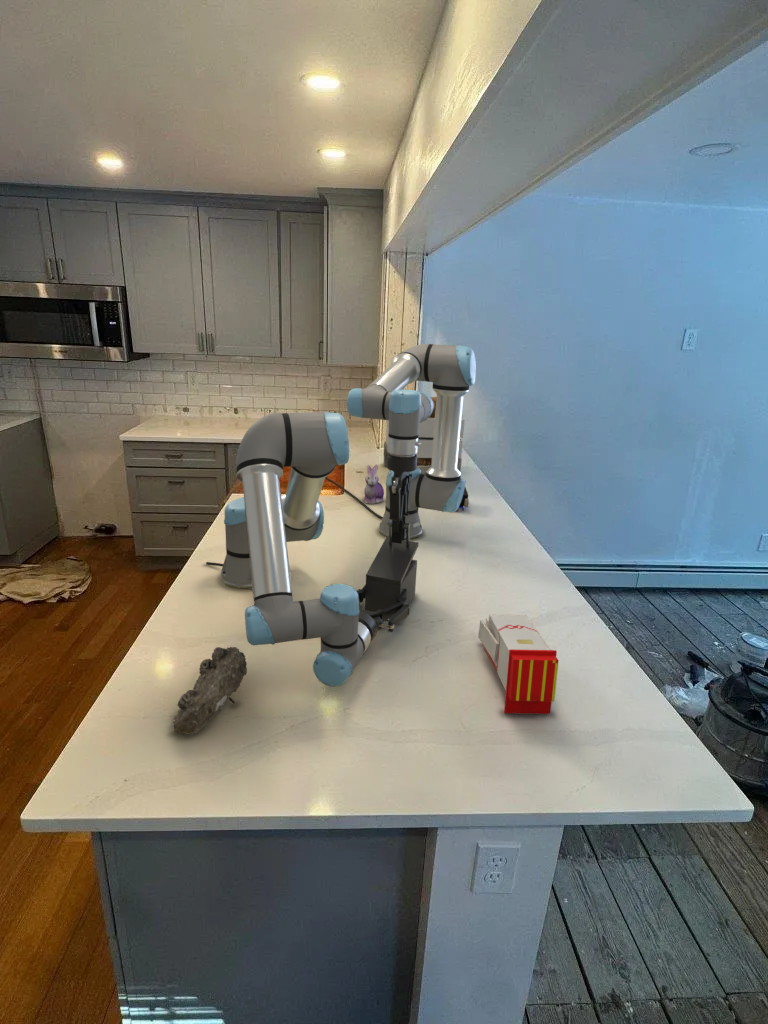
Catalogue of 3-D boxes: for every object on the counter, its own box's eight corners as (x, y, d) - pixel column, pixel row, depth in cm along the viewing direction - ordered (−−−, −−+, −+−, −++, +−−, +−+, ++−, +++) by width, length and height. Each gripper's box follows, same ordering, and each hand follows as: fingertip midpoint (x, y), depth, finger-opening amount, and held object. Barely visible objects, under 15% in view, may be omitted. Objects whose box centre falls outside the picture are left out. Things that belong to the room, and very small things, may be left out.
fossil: (197, 648, 121) (247, 617, 116) (228, 678, 124) (278, 648, 119) (149, 728, 102) (207, 694, 97) (187, 761, 105) (245, 730, 100)
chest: (383, 589, 160) (385, 554, 156) (414, 595, 158) (417, 560, 154) (364, 616, 146) (365, 578, 142) (398, 623, 143) (400, 585, 139)
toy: (524, 600, 137) (567, 656, 108) (520, 651, 140) (560, 720, 111) (474, 599, 137) (504, 655, 107) (471, 650, 140) (498, 719, 110)
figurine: (368, 505, 226) (369, 469, 221) (357, 498, 235) (358, 463, 230) (389, 503, 230) (391, 467, 225) (378, 495, 239) (379, 461, 234)
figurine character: (468, 516, 224) (463, 500, 237) (471, 498, 221) (465, 483, 234) (452, 515, 224) (447, 499, 237) (453, 498, 220) (449, 482, 234)
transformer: (382, 463, 289) (386, 382, 275) (445, 464, 293) (451, 384, 279) (390, 482, 257) (394, 392, 243) (460, 483, 261) (468, 394, 247)
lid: (386, 540, 155) (385, 513, 151) (418, 545, 153) (418, 518, 148) (365, 578, 142) (364, 550, 137) (400, 584, 140) (400, 556, 135)
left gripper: (310, 638, 130) (346, 595, 150) (402, 659, 124) (427, 611, 144) (310, 609, 127) (347, 569, 147) (404, 629, 121) (429, 584, 141)
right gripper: (409, 462, 133) (403, 553, 141) (424, 448, 146) (418, 533, 155) (378, 458, 135) (375, 549, 144) (396, 445, 149) (392, 529, 157)
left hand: (386, 590), depth 145 cm, fingers closed on chest, 9 cm apart
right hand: (397, 540), depth 149 cm, fingers closed on lid, 2 cm apart
